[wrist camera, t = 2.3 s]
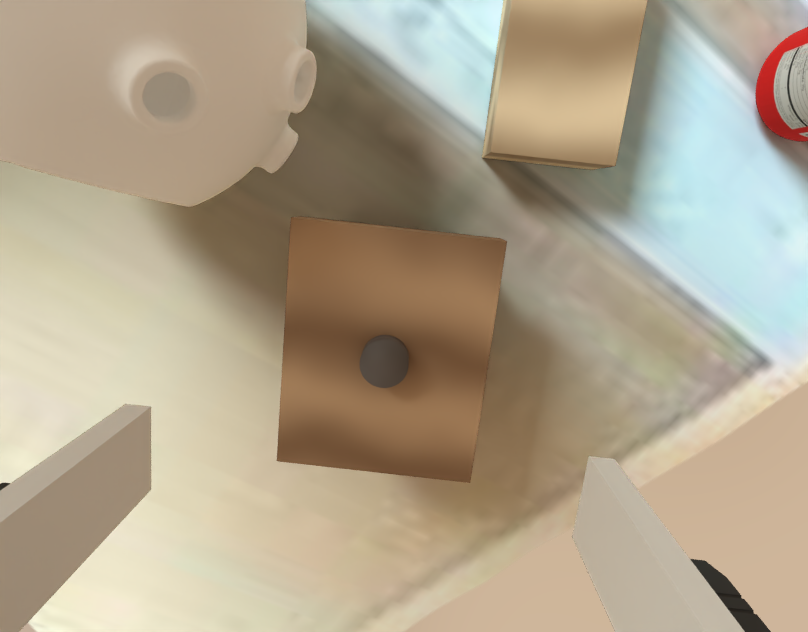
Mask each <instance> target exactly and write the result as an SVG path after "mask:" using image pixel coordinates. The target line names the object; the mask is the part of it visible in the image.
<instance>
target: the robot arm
mask: <svg viewBox="0 0 808 632" xmlns="http://www.w3.org/2000/svg"><path fill="white" fill-rule="evenodd" d="M150 490H151V407H148V406H140V405H131V404H125V405H123V406H122V407H120V408H119V409H117V410H116V411H115V412H113V413H112V414H110V415H109V416H107V417H106V418H104V419H103V420H102V421H100V422H99V423H97V424H96V425H94V426H93V427H91V428H90V429H89V430H87V431H86V432H84V433H83V434H81V435H80V436H78V437H77V438H76V439H74V440H73V441H71V442H70V443H68V444H67V445H65V446H64V447H63V448H61V449H60V450H58V451H57V452H55V453H54V454H52V455H51V456H50V457H48V458H47V459H45V460H44V461H42V462H41V463H39V464H38V465H37V466H35V467H34V468H32V469H31V470H29V471H28V472H26V473H25V474H24V475H22V476H21V477H19V478H18V479H16V480H15V481H13V482H12V483H1V484H0V632H19V631H20V630H21V629H22V628H23V627H24V626H25V625H26V624H27V623H28V622H29V620H30V619H31V618H32V617H33V616H34V615H35V614H36V613H37V612H38V611H39V610H40V609H41V608H42V606H43V605H44V604H45V603H46V602H47V601H48V600H49V599H50V598H51V597H52V596H53V595H54V594H55V592H56V591H57V590H58V589H59V588H60V587H61V586H62V585H63V584H64V583H65V582H66V581H67V580H68V578H69V577H70V576H71V575H72V574H73V573H74V572H75V571H76V570H77V569H78V568H79V567H80V566H81V564H82V563H83V562H84V561H85V560H86V559H87V558H88V557H89V556H90V555H91V554H92V553H93V552H94V550H95V549H96V548H97V547H98V546H99V545H100V544H101V543H102V542H103V541H104V540H105V539H106V538H107V536H108V535H109V534H110V533H111V532H112V531H113V530H114V529H115V528H116V527H117V526H118V525H119V524H120V522H121V521H122V520H123V519H124V518H125V517H126V516H127V515H128V514H129V513H130V512H131V511H132V510H133V508H134V507H135V506H136V505H137V504H138V503H139V502H140V501H141V500H142V499H143V498H144V497H145V496H146V494H147V493H148V492H149V491H150ZM572 538H573V540H574V542H575V545H576V547H577V549H578V551H579V553H580V555H581V558H582V560H583V562H584V564H585V567H586V569H587V571H588V573H589V575H590V578H591V580H592V582H593V584H594V586H595V589H596V591H597V593H598V595H599V597H600V600H601V602H602V604H603V606H604V609H605V610H606V613H607V615H608V617H609V619H610V622H611V624H612V626H613V628H614V631H615V632H771V631H770V630H769V629H768V628H767V627H766V625H765V624H764V623H763V622H762V621H761V619H760V618H759V617H758V616H757V615H756V614H754V613H753V610H752V608H751V607H750V606H749V604H748V603H747V602H746V601H745V600H744V599H742V598H741V595H740V593H739V592H738V591H737V590H736V588H735V587H734V586H733V585H732V584H731V582H730V581H729V580H728V579H727V578H726V577H725V576H724V575H723V574H721V573H720V572H719V571H718V570H716V569H715V568H713V567H712V566H711V565H710V564H708V563H707V562H706V561H702V560H694V559H690V558H689V557H688V556H687V555H686V553H685V552H684V550H683V549H682V548H681V547H680V545H679V544H678V543H677V541H676V540H675V539H674V537H673V536H672V535H671V533H670V532H669V531H668V529H667V528H666V527H665V525H664V524H663V523H662V521H661V520H660V519H659V518H658V516H657V515H656V514H655V512H654V511H653V509H652V508H651V507H650V505H649V504H648V503H647V502H646V500H645V499H644V498H643V496H642V495H641V494H640V493H639V491H638V490H637V488H636V487H635V486H634V484H633V483H632V482H631V480H630V479H629V478H628V476H627V475H626V474H625V472H624V471H623V470H622V468H621V467H620V466H619V464H618V463H617V462H616V460H615V459H610V458H602V457H593V456H589V457H588V462H587V467H586V472H585V477H584V481H583V486H582V491H581V496H580V501H579V506H578V511H577V516H576V520H575V525H574V530H573V535H572Z"/></svg>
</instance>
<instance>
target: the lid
mask: <svg viewBox="0 0 808 632" xmlns="http://www.w3.org/2000/svg"><path fill="white" fill-rule="evenodd" d="M506 244H507V241H505V240H503V239H500V238H492V237H483V236H474V235H465V234H456V233H447V232H438V231H429V230H420V229H411V228H402V227H393V226H384V225H375V224H366V223H357V222H348V221H339V220H330V219H321V218H312V217H303V216H298V217H291V224H290V242H289V259H288V276H287V294H286V311H285V328H284V346H283V363H282V381H281V398H280V415H279V433H278V450H277V461H280V462H289V463H298V464H307V465H316V466H325V467H334V468H343V469H352V470H361V471H370V472H379V473H388V474H397V475H405V476H414V477H423V478H432V479H441V480H450V481H459V482H468V483H470V480H471V474H472V467H473V461H474V454H475V448H476V441H477V435H478V428H479V421H480V415H481V408H482V402H483V395H484V389H485V382H486V376H487V369H488V362H489V356H490V349H491V343H492V336H493V330H494V323H495V317H496V310H497V303H498V297H499V290H500V284H501V277H502V271H503V264H504V258H505V251H506Z"/></svg>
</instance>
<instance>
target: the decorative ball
mask: <svg viewBox="0 0 808 632" xmlns="http://www.w3.org/2000/svg"><path fill="white" fill-rule="evenodd" d="M306 45H307V17H306V4H305V0H0V160H2V161H6V162H10V163H14V164H16V165H19V166H22V167H25V168H29V169H32V170H36V171H39V172H43V173H47V174H50V175H54V176H58V177H62V178H65V179H69V180H73V181H77V182H80V183H84V184H89V185H93V186H97V187H101V188H105V189H109V190H112V191H117V192H121V193H126V194H130V195H135V196H139V197H143V198H147V199H151V200H157V201H161V202H164V203H172V204H175V205H183V206H186V207H192V206H195V205H198V204H200V203H202V202H204V201H206V200H209V199H211V198H212V197H214V196H216V195H218V194H219V193H221V192H223V191H225V190H226V189H228V188H229V187H231V186H232V185H234V184H235V183H236V182H238V181H239V180H240V179H242V178H243V177H244V176H245V175H246V174H248V173H249V172H250V171H251V170H252V169H253V168H254V167H261V168H263V169H265V170H266V171H267V172H269V173H274V172H276V171H277V170H278V169H279V168H280V167H281V166H282V165H283V164H284V163H285V162H286V160H287V159H288V157H289V156H290V155H291V153H292V151H293V150H294V148H295V146H296V144H297V142H298V134H297V133H296V132H295V131H293V130H292V129H291V128H290V126H289V124H288V118H289V115H290V113H291V112H292V113H300V112H301V111H303V110H304V108H305V107H306V106H307V104H308V102H309V100H310V98H311V96H312V93H313V90H314V86H315V81H316V73H317V67H316V59H315V56H314V54H313V53H312V52H311V51H310V50H308V49H306Z"/></svg>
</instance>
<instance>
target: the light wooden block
mask: <svg viewBox="0 0 808 632" xmlns="http://www.w3.org/2000/svg"><path fill="white" fill-rule="evenodd" d="M646 5H647V0H503V7H502V15H501V22H500V29H499V37H498V44H497V51H496V59H495V66H494V73H493V81H492V88H491V95H490V103H489V110H488V117H487V125H486V132H485V139H484V146H483V154H482V158H489V159H498V160H507V161H516V162H525V163H534V164H543V165H552V166H561V167H570V168H579V169H588V170H594V169H600V168H606V167H612V166H615V165H616V160H617V155H618V150H619V145H620V140H621V134H622V129H623V124H624V119H625V114H626V109H627V103H628V98H629V93H630V88H631V83H632V78H633V72H634V67H635V62H636V57H637V52H638V47H639V41H640V36H641V31H642V26H643V21H644V16H645V10H646Z"/></svg>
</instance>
